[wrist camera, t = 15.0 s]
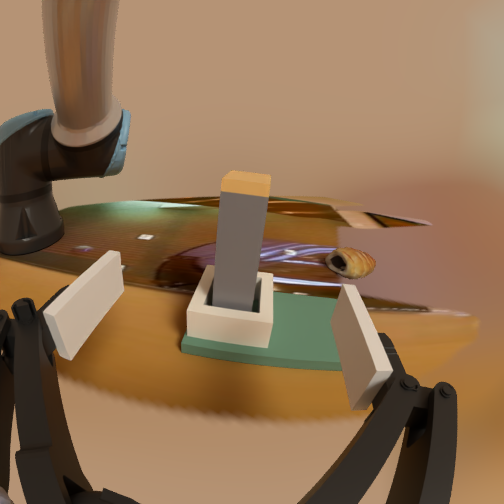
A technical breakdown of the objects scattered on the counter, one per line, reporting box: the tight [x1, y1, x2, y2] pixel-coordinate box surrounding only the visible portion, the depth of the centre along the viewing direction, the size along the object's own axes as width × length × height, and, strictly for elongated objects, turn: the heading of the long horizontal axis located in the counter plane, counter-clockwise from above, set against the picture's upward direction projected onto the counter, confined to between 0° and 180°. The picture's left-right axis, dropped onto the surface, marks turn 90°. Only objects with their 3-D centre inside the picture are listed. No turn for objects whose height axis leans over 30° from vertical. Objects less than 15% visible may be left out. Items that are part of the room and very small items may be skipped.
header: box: [187, 265, 273, 348], centre depth 27 cm, size 7×9×3 cm
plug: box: [212, 170, 271, 312], centre depth 25 cm, size 4×5×14 cm
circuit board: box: [181, 292, 374, 371], centre depth 28 cm, size 20×11×1 cm, turn 86°
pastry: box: [325, 247, 376, 279], centre depth 44 cm, size 9×7×4 cm
